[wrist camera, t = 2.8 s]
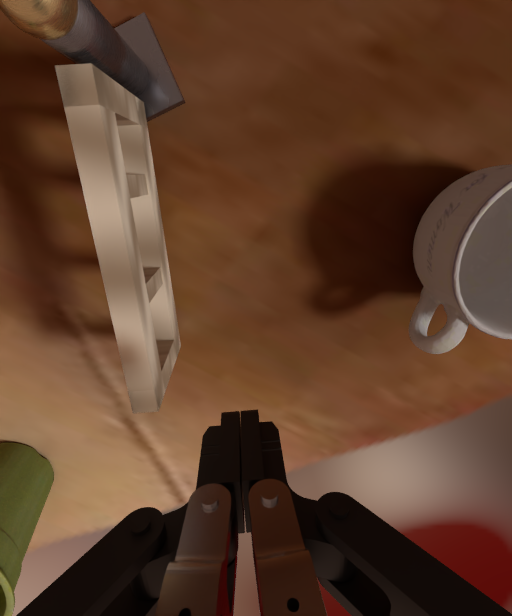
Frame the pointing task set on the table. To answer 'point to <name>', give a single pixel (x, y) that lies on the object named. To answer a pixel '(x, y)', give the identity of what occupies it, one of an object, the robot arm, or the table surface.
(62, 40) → the hinge post
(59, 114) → the table surface
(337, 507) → the robot arm
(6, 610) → the plant pot
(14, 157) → the table surface
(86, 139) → the gate
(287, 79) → the table surface
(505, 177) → the teacup
